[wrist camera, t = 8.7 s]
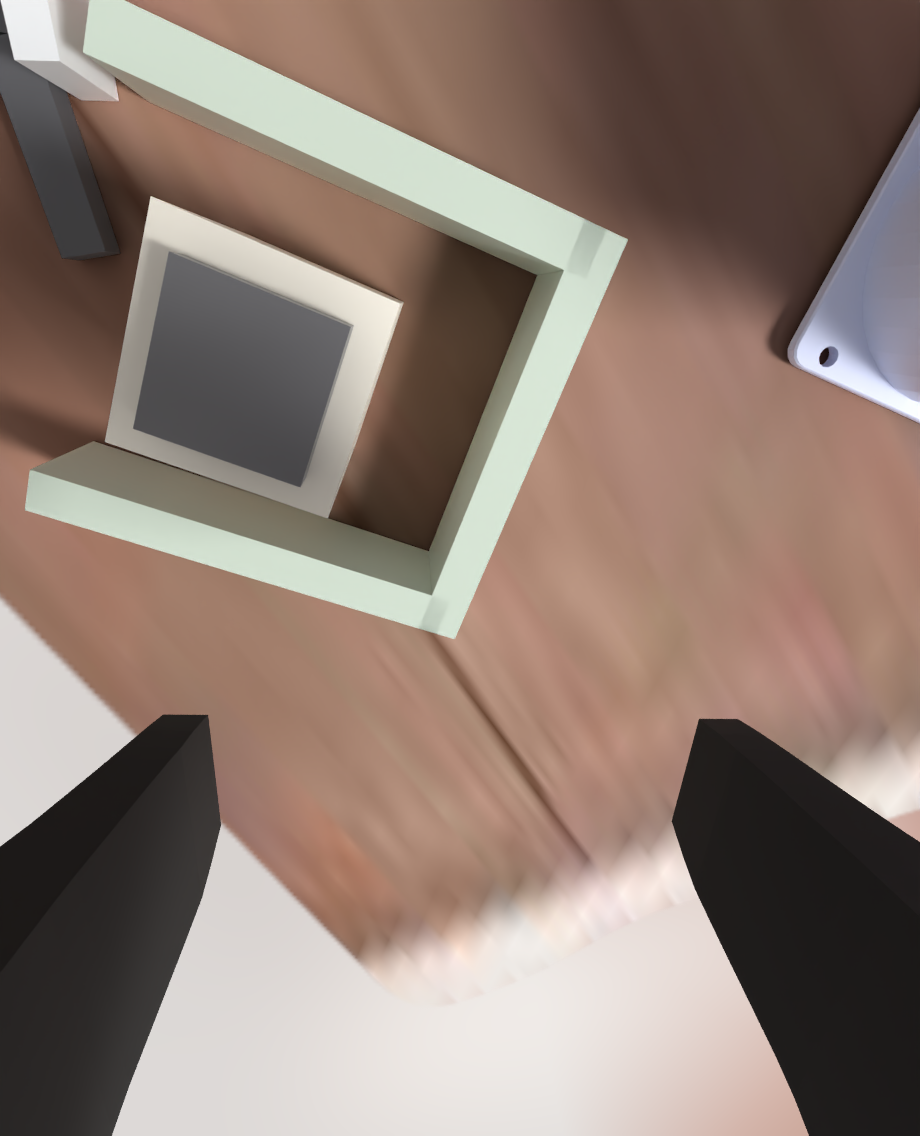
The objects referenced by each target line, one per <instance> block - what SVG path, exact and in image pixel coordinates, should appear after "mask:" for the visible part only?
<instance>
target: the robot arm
mask: <svg viewBox="0 0 920 1136" xmlns="http://www.w3.org/2000/svg"><path fill="white" fill-rule="evenodd" d="M825 348H828V349H829V357H828V359H827V361H826V362H825V363H824V364H822V365H821V364H820V363H819V356H820V353H821V352H822V351H823V350H824V349H825ZM788 358H789V361H790V363H791V364H792V365H794V366H795V367H797V368H799V369H801V370H803V371H805V372H808V373H810V374H812V375H814V376H816V377H819V378H821V379H823V380H825V381H827V382H830V383H832V384H834V385H836V386H838V387H841V388H843V389H845V390H847V391H849V392H852V393H854V394H856V395H858V396H860V397H862V398H865V399H867V400H869V401H871V402H873V403H876V404H878V405H880V406H882V407H884V408H887V409H889V410H891V411H893V412H895V413H898V414H900V415H902V416H904V417H906V418H909V419H911V420H913V421H915V422H917V423H920V108H919V110H918V112H917V114H916V115H915V117H914V119H913V121H912V123H911V124H910V126H909V128H908V130H907V132H906V134H905V135H904V137H903V139H902V141H901V143H900V144H899V146H898V148H897V150H896V152H895V153H894V155H893V157H892V159H891V161H890V162H889V164H888V166H887V168H886V170H885V172H884V173H883V175H882V177H881V179H880V181H879V182H878V184H877V186H876V188H875V190H874V191H873V193H872V195H871V197H870V199H869V201H868V202H867V204H866V206H865V208H864V210H863V211H862V213H861V215H860V217H859V219H858V220H857V222H856V224H855V226H854V228H853V229H852V231H851V233H850V235H849V237H848V239H847V240H846V242H845V244H844V246H843V248H842V249H841V251H840V253H839V255H838V257H837V258H836V260H835V262H834V264H833V266H832V268H831V269H830V271H829V273H828V275H827V277H826V278H825V280H824V282H823V284H822V286H821V287H820V289H819V291H818V293H817V295H816V297H815V298H814V300H813V302H812V304H811V306H810V307H809V309H808V311H807V313H806V315H805V316H804V318H803V320H802V322H801V324H800V325H799V327H798V329H797V331H796V333H795V335H794V336H793V338H792V340H791V342H790V345H789V347H788ZM672 823H673V826H674V829H675V833H676V836H677V839H678V842H679V845H680V848H681V851H682V854H683V857H684V860H685V863H686V866H687V868H688V871H689V874H690V877H691V879H692V882H693V885H694V888H695V890H696V892H697V894H698V896H699V899H700V901H701V903H702V905H703V907H704V909H705V911H706V913H707V916H708V918H709V920H710V922H711V924H712V926H713V928H714V930H715V932H716V934H717V937H718V939H719V941H720V943H721V945H722V947H723V949H724V951H725V953H726V955H727V957H728V959H729V961H730V963H731V965H732V967H733V970H734V972H735V973H736V976H737V978H738V980H739V982H740V984H741V986H742V988H743V990H744V992H745V994H746V996H747V998H748V1000H749V1002H750V1004H751V1006H752V1008H753V1010H754V1013H755V1015H756V1017H757V1019H758V1021H759V1023H760V1025H761V1027H762V1029H763V1030H764V1033H765V1035H766V1037H767V1039H768V1041H769V1043H770V1045H771V1047H772V1049H773V1052H774V1053H775V1056H776V1058H777V1060H778V1062H779V1065H780V1067H781V1069H782V1071H783V1073H784V1076H785V1078H786V1080H787V1083H788V1085H789V1087H790V1089H791V1092H792V1094H793V1096H794V1098H795V1101H796V1103H797V1106H798V1108H799V1111H800V1114H801V1116H802V1119H803V1121H804V1124H805V1126H806V1129H807V1131H808V1134H809V1136H920V842H919V841H917V840H916V839H914V838H913V837H911V836H910V835H908V834H906V833H905V832H904V831H902V830H901V829H899V828H898V827H896V826H895V825H893V824H892V823H890V822H889V821H887V820H886V819H884V818H883V817H881V816H880V815H878V814H877V813H875V812H874V811H872V810H871V809H870V808H868V807H867V806H865V805H864V804H862V803H861V802H859V801H858V800H856V799H855V798H854V797H852V796H851V795H849V794H848V793H846V792H845V791H843V790H842V789H841V788H839V787H838V786H836V785H835V784H833V783H832V782H830V781H829V780H828V779H826V778H825V777H823V776H822V775H820V774H819V773H818V772H816V771H815V770H813V769H812V768H810V767H809V766H808V765H806V764H805V763H803V762H802V761H800V760H799V759H798V758H796V757H795V756H793V755H792V754H790V753H789V752H787V751H786V750H785V749H783V748H782V747H780V746H779V745H777V744H776V743H774V742H773V741H771V740H770V739H768V738H767V737H765V736H764V735H762V734H761V733H759V732H758V731H756V730H755V729H753V728H751V727H750V726H748V725H747V724H745V723H743V722H742V721H740V720H738V719H699V721H698V725H697V729H696V733H695V736H694V740H693V744H692V748H691V751H690V755H689V759H688V763H687V766H686V770H685V774H684V778H683V781H682V785H681V789H680V792H679V796H678V800H677V804H676V807H675V811H674V815H673V819H672ZM220 827H221V821H220V813H219V804H218V796H217V787H216V779H215V770H214V762H213V753H212V745H211V736H210V728H209V719H208V715H162V716H161V717H160V718H158V719H157V720H156V721H155V722H153V723H152V724H151V725H150V726H148V727H147V728H146V729H145V730H144V731H142V732H141V733H140V734H139V735H138V736H136V737H135V738H134V739H133V740H132V741H130V742H129V743H128V744H127V745H126V746H124V747H123V748H122V749H121V750H120V751H119V752H117V753H116V754H115V755H114V756H113V757H111V758H110V759H109V760H108V761H107V762H106V763H104V764H103V765H102V766H101V767H100V768H98V769H97V770H96V771H95V772H94V773H92V774H91V775H90V776H89V777H87V778H86V779H85V780H84V781H83V782H81V783H80V784H79V785H78V786H76V787H75V788H74V789H73V790H72V791H70V792H69V793H68V794H67V795H65V796H64V797H63V798H62V799H61V800H59V801H58V802H57V803H56V804H54V805H53V806H52V807H51V808H49V809H48V810H47V811H46V812H45V813H43V814H42V815H41V816H40V817H38V818H37V819H36V820H35V821H33V822H32V823H31V824H30V825H29V826H27V827H26V828H24V829H23V830H22V831H20V832H19V833H18V834H16V835H15V836H14V837H12V838H11V839H10V840H8V841H7V842H6V843H4V844H3V845H2V846H0V1136H112V1133H113V1130H114V1127H115V1124H116V1122H117V1119H118V1116H119V1113H120V1110H121V1107H122V1105H123V1102H124V1099H125V1096H126V1093H127V1091H128V1088H129V1085H130V1082H131V1080H132V1077H133V1075H134V1072H135V1070H136V1067H137V1064H138V1062H139V1059H140V1057H141V1054H142V1052H143V1049H144V1046H145V1044H146V1041H147V1039H148V1036H149V1034H150V1031H151V1028H152V1026H153V1023H154V1021H155V1018H156V1016H157V1013H158V1010H159V1008H160V1005H161V1003H162V1000H163V998H164V995H165V992H166V990H167V987H168V985H169V982H170V980H171V977H172V974H173V972H174V969H175V967H176V964H177V962H178V959H179V957H180V954H181V951H182V949H183V946H184V943H185V941H186V938H187V936H188V933H189V930H190V928H191V925H192V922H193V920H194V917H195V915H196V912H197V909H198V906H199V904H200V901H201V899H202V896H203V892H204V888H205V884H206V881H207V877H208V874H209V870H210V866H211V863H212V859H213V855H214V850H215V847H216V842H217V839H218V834H219V830H220Z"/></svg>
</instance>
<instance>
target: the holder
mask: <svg viewBox="0 0 920 1136" xmlns="http://www.w3.org/2000/svg"><path fill="white" fill-rule="evenodd" d="M83 53H84V54H86V55H87V56H88V57H90V58H91V59H92V60H93V61H95V62H96V63H97V64H99V65H100V66H101V67H103V68H104V69H105V70H107V71H108V72H109V73H111V74H112V75H113V76H115V77H116V78H117V79H119V80H120V81H121V82H123V83H124V84H125V85H127V86H128V87H129V88H131V89H132V90H133V91H135V92H136V93H137V94H139V95H140V96H141V97H143V98H144V99H145V100H147V101H148V102H150V103H152V104H154V105H156V106H159V107H161V108H163V109H165V110H168V111H170V112H172V113H174V114H177V115H179V116H181V117H183V118H186V119H188V120H190V121H192V122H195V123H197V124H199V125H201V126H204V127H206V128H208V129H210V130H213V131H215V132H217V133H219V134H221V135H224V136H226V137H228V138H230V139H233V140H235V141H237V142H239V143H242V144H244V145H246V146H248V147H251V148H253V149H255V150H257V151H260V152H262V153H264V154H266V155H269V156H271V157H273V158H275V159H278V160H280V161H282V162H284V163H287V164H289V165H291V166H293V167H296V168H298V169H300V170H302V171H304V172H307V173H309V174H311V175H313V176H316V177H318V178H320V179H322V180H325V181H327V182H329V183H331V184H334V185H336V186H338V187H340V188H343V189H345V190H347V191H349V192H352V193H354V194H356V195H358V196H361V197H363V198H365V199H367V200H370V201H372V202H374V203H376V204H379V205H381V206H383V207H385V208H388V209H390V210H392V211H394V212H396V213H399V214H401V215H403V216H405V217H408V218H410V219H412V220H414V221H417V222H419V223H421V224H423V225H426V226H428V227H430V228H432V229H435V230H437V231H439V232H441V233H444V234H446V235H448V236H450V237H453V238H455V239H457V240H459V241H462V242H464V243H466V244H468V245H471V246H473V247H475V248H477V249H479V250H482V251H484V252H486V253H488V254H491V255H493V256H495V257H497V258H500V259H502V260H504V261H506V262H509V263H511V264H513V265H515V266H518V267H520V268H522V269H524V270H527V271H529V272H531V273H533V274H536V275H537V277H536V279H535V282H534V284H533V287H532V290H531V292H530V295H529V297H528V300H527V302H526V305H525V307H524V310H523V312H522V315H521V318H520V320H519V323H518V325H517V328H516V330H515V333H514V335H513V338H512V341H511V343H510V346H509V348H508V351H507V353H506V356H505V358H504V361H503V363H502V366H501V369H500V371H499V374H498V376H497V379H496V381H495V384H494V386H493V389H492V391H491V394H490V397H489V399H488V402H487V404H486V407H485V409H484V412H483V414H482V417H481V420H480V422H479V425H478V427H477V430H476V432H475V435H474V437H473V440H472V442H471V445H470V448H469V450H468V453H467V455H466V458H465V460H464V463H463V465H462V468H461V471H460V473H459V476H458V478H457V481H456V483H455V486H454V488H453V491H452V493H451V496H450V499H449V501H448V504H447V506H446V509H445V511H444V514H443V516H442V519H441V521H440V524H439V527H438V529H437V532H436V534H435V537H434V539H433V542H432V544H431V547H430V550H429V551H426V550H423V549H420V548H417V547H414V546H411V545H408V544H405V543H402V542H399V541H396V540H393V539H390V538H386V537H383V536H380V535H377V534H374V533H371V532H368V531H365V530H362V529H359V528H356V527H353V526H350V525H347V524H344V523H341V522H338V521H335V520H332V519H329V518H325V517H322V516H319V515H316V514H313V513H310V512H307V511H304V510H301V509H298V508H295V507H292V506H289V505H286V504H283V503H280V502H277V501H274V500H271V499H268V498H265V497H262V496H259V495H256V494H253V493H250V492H247V491H244V490H241V489H238V488H235V487H232V486H228V485H225V484H222V483H219V482H216V481H213V480H210V479H207V478H204V477H201V476H198V475H195V474H192V473H189V472H186V471H183V470H180V469H177V468H174V467H171V466H168V465H165V464H162V463H159V462H156V461H153V460H149V459H146V458H143V457H140V456H137V455H134V454H131V453H128V452H125V451H122V450H119V449H116V448H113V447H110V446H107V445H104V444H101V443H98V442H95V441H93V442H90V443H88V444H86V445H84V446H82V447H79V448H77V449H75V450H73V451H70V452H68V453H66V454H64V455H62V456H59V457H57V458H55V459H53V460H50V461H48V462H46V463H44V464H41V465H39V466H37V467H35V468H33V469H30V473H29V481H28V489H27V497H26V505H25V510H26V511H30V512H33V513H36V514H40V515H43V516H46V517H49V518H53V519H56V520H59V521H63V522H66V523H69V524H73V525H76V526H79V527H83V528H86V529H89V530H93V531H96V532H99V533H103V534H106V535H109V536H113V537H116V538H119V539H123V540H126V541H129V542H133V543H136V544H139V545H143V546H146V547H149V548H153V549H156V550H159V551H163V552H166V553H169V554H173V555H176V556H179V557H183V558H186V559H189V560H193V561H196V562H199V563H203V564H206V565H209V566H213V567H216V568H219V569H223V570H226V571H229V572H233V573H236V574H239V575H243V576H246V577H249V578H253V579H256V580H259V581H263V582H266V583H269V584H273V585H276V586H279V587H283V588H286V589H289V590H293V591H296V592H299V593H303V594H306V595H309V596H313V597H316V598H319V599H323V600H326V601H329V602H332V603H336V604H339V605H342V606H346V607H349V608H352V609H356V610H359V611H362V612H366V613H369V614H372V615H376V616H379V617H382V618H386V619H389V620H392V621H396V622H399V623H402V624H406V625H409V626H412V627H416V628H419V629H422V630H426V631H429V632H432V633H436V634H439V635H442V636H446V637H449V638H452V639H455V637H456V635H457V632H458V630H459V628H460V625H461V623H462V621H463V619H464V616H465V614H466V612H467V609H468V607H469V605H470V602H471V600H472V598H473V596H474V593H475V591H476V589H477V586H478V584H479V582H480V579H481V577H482V575H483V572H484V570H485V568H486V566H487V563H488V561H489V559H490V556H491V554H492V552H493V549H494V547H495V545H496V542H497V540H498V538H499V536H500V533H501V531H502V529H503V526H504V524H505V522H506V519H507V517H508V515H509V513H510V510H511V508H512V506H513V503H514V501H515V499H516V496H517V494H518V492H519V489H520V487H521V485H522V483H523V480H524V478H525V476H526V473H527V471H528V469H529V466H530V464H531V462H532V460H533V457H534V455H535V453H536V450H537V448H538V446H539V443H540V441H541V439H542V436H543V434H544V432H545V430H546V427H547V425H548V423H549V420H550V418H551V416H552V413H553V411H554V409H555V406H556V404H557V402H558V400H559V397H560V395H561V393H562V390H563V388H564V386H565V383H566V381H567V379H568V377H569V374H570V372H571V370H572V367H573V365H574V363H575V360H576V358H577V356H578V353H579V351H580V349H581V347H582V344H583V342H584V340H585V337H586V335H587V333H588V330H589V328H590V326H591V324H592V321H593V319H594V317H595V314H596V312H597V310H598V307H599V305H600V303H601V300H602V298H603V296H604V294H605V291H606V289H607V287H608V284H609V282H610V280H611V277H612V275H613V273H614V271H615V268H616V266H617V264H618V261H619V259H620V257H621V254H622V252H623V250H624V247H625V245H626V243H627V241H628V239H626V238H623V237H621V236H619V235H617V234H615V233H613V232H611V231H609V230H607V229H604V228H602V227H600V226H598V225H596V224H594V223H592V222H590V221H588V220H586V219H583V218H581V217H579V216H577V215H575V214H573V213H571V212H569V211H567V210H564V209H562V208H560V207H558V206H556V205H554V204H552V203H550V202H548V201H546V200H543V199H541V198H539V197H537V196H535V195H533V194H531V193H529V192H527V191H524V190H522V189H520V188H518V187H516V186H514V185H512V184H510V183H508V182H506V181H503V180H501V179H499V178H497V177H495V176H493V175H491V174H489V173H487V172H485V171H482V170H480V169H478V168H476V167H474V166H472V165H470V164H468V163H466V162H463V161H461V160H459V159H457V158H455V157H453V156H451V155H449V154H447V153H445V152H442V151H440V150H438V149H436V148H434V147H432V146H430V145H428V144H426V143H423V142H421V141H419V140H417V139H415V138H413V137H411V136H409V135H407V134H405V133H402V132H400V131H398V130H396V129H394V128H392V127H390V126H388V125H386V124H383V123H381V122H379V121H377V120H375V119H373V118H371V117H369V116H367V115H365V114H362V113H360V112H358V111H356V110H354V109H352V108H350V107H348V106H346V105H343V104H341V103H339V102H337V101H335V100H333V99H331V98H329V97H327V96H325V95H322V94H320V93H318V92H316V91H314V90H312V89H310V88H308V87H306V86H304V85H301V84H299V83H297V82H295V81H293V80H291V79H289V78H287V77H285V76H282V75H280V74H278V73H276V72H274V71H272V70H270V69H268V68H266V67H264V66H261V65H259V64H257V63H255V62H253V61H251V60H249V59H247V58H245V57H242V56H240V55H238V54H236V53H234V52H232V51H230V50H228V49H226V48H224V47H221V46H219V45H217V44H215V43H213V42H211V41H209V40H207V39H205V38H202V37H200V36H198V35H196V34H194V33H192V32H190V31H188V30H186V29H184V28H181V27H179V26H177V25H175V24H173V23H171V22H169V21H167V20H165V19H163V18H160V17H158V16H156V15H154V14H152V13H150V12H148V11H146V10H144V9H141V8H139V7H137V6H135V5H133V4H131V3H129V2H127V1H125V0H89V7H88V15H87V23H86V31H85V39H84V47H83Z"/></svg>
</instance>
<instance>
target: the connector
mask: <svg viewBox="0 0 920 1136" xmlns="http://www.w3.org/2000/svg"><path fill="white" fill-rule="evenodd" d="M403 303H404V302H403V301H401V300H398V299H396V298H394V297H391V296H389V295H387V294H384V293H382V292H380V291H377V290H375V289H373V288H371V287H368V286H366V285H364V284H361V283H359V282H357V281H354V280H352V279H350V278H347V277H345V276H343V275H341V274H338V273H336V272H334V271H331V270H329V269H327V268H324V267H322V266H320V265H317V264H315V263H313V262H311V261H308V260H306V259H304V258H301V257H299V256H297V255H294V254H292V253H290V252H287V251H285V250H283V249H280V248H278V247H276V246H274V245H271V244H269V243H267V242H264V241H262V240H260V239H257V238H255V237H253V236H250V235H248V234H246V233H243V232H241V231H238V230H236V229H233V228H231V227H228V226H226V225H223V224H220V223H218V222H215V221H213V220H210V219H208V218H205V217H203V216H200V215H198V214H195V213H193V212H190V211H188V210H185V209H182V208H180V207H177V206H175V205H172V204H170V203H167V202H165V201H162V200H160V199H157V198H155V197H152V196H151V198H150V203H149V208H148V214H147V219H146V224H145V230H144V235H143V240H142V246H141V251H140V256H139V262H138V267H137V272H136V278H135V283H134V288H133V294H132V299H131V304H130V310H129V315H128V320H127V326H126V331H125V336H124V342H123V347H122V352H121V358H120V363H119V369H118V374H117V379H116V385H115V390H114V395H113V401H112V406H111V411H110V417H109V422H108V427H107V433H106V438H105V442H107V443H109V444H112V445H115V446H118V447H121V448H124V449H127V450H130V451H133V452H136V453H139V454H141V455H144V456H147V457H150V458H153V459H156V460H159V461H162V462H165V463H168V464H171V465H173V466H176V467H179V468H182V469H185V470H188V471H191V472H194V473H197V474H200V475H203V476H205V477H208V478H211V479H214V480H217V481H220V482H223V483H226V484H229V485H232V486H235V487H237V488H240V489H243V490H246V491H249V492H252V493H255V494H258V495H261V496H264V497H266V498H269V499H272V500H275V501H278V502H281V503H284V504H287V505H290V506H293V507H296V508H298V509H301V510H304V511H307V512H310V513H313V514H316V515H319V516H322V517H325V518H328V517H329V514H330V511H331V509H332V506H333V503H334V501H335V498H336V495H337V493H338V490H339V487H340V485H341V482H342V479H343V477H344V474H345V471H346V469H347V466H348V463H349V461H350V458H351V455H352V453H353V450H354V447H355V444H356V441H357V439H358V436H359V433H360V430H361V427H362V424H363V421H364V418H365V415H366V412H367V409H368V406H369V403H370V400H371V397H372V394H373V391H374V388H375V386H376V383H377V380H378V377H379V374H380V371H381V368H382V365H383V362H384V359H385V356H386V353H387V350H388V347H389V344H390V341H391V338H392V335H393V332H394V330H395V327H396V324H397V321H398V318H399V315H400V312H401V309H402V306H403Z"/></svg>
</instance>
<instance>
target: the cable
mask: <svg viewBox="0 0 920 1136" xmlns="http://www.w3.org/2000/svg"><path fill="white" fill-rule="evenodd" d="M0 93H1V95H2V98H3V101H4V103H5V106H6V109H7V112H8V114H9V117H10V120H11V122H12V125H13V128H14V130H15V133H16V136H17V139H18V141H19V144H20V147H21V149H22V152H23V155H24V157H25V160H26V163H27V165H28V168H29V171H30V174H31V176H32V179H33V182H34V184H35V187H36V190H37V192H38V195H39V198H40V201H41V203H42V206H43V209H44V211H45V214H46V217H47V219H48V222H49V225H50V228H51V230H52V233H53V236H54V238H55V241H56V244H57V246H58V249H59V252H60V254H61V257H62V258H64V259H72V260H84V259H90V258H97V257H103V256H109V255H115V254H121V253H120V250H119V247H118V244H117V241H116V238H115V235H114V232H113V229H112V226H111V223H110V220H109V217H108V214H107V211H106V208H105V205H104V202H103V199H102V196H101V193H100V190H99V187H98V184H97V181H96V178H95V175H94V172H93V169H92V167H91V164H90V161H89V158H88V155H87V152H86V149H85V146H84V143H83V140H82V137H81V134H80V131H79V128H78V125H77V122H76V119H75V116H74V113H73V110H72V107H71V104H70V101H69V98H68V95H67V92H66V91H65V90H63V89H62V88H60V87H58V86H57V85H55V84H53V83H52V82H50V81H48V80H47V79H45V78H43V77H42V76H40V75H38V74H37V73H35V72H33V71H32V70H30V69H28V68H27V67H25V66H23V65H22V64H20V63H19V62H17V61H15V60H14V57H13V52H12V48H11V44H10V39H9V35H8V31H7V26H6V22H5V18H4V13H3V9H2V4H1V0H0Z"/></svg>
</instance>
